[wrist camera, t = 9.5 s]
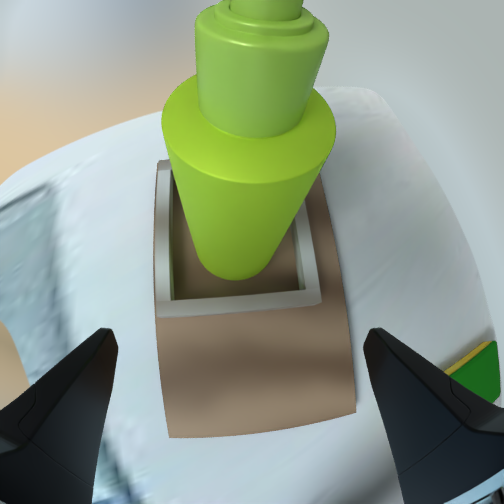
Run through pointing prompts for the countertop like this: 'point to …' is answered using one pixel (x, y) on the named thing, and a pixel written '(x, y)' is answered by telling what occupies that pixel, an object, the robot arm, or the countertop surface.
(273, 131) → the soap dispenser
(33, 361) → the countertop surface
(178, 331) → the walnut holder board
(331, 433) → the countertop surface
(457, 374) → the dish sponge
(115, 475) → the countertop surface
